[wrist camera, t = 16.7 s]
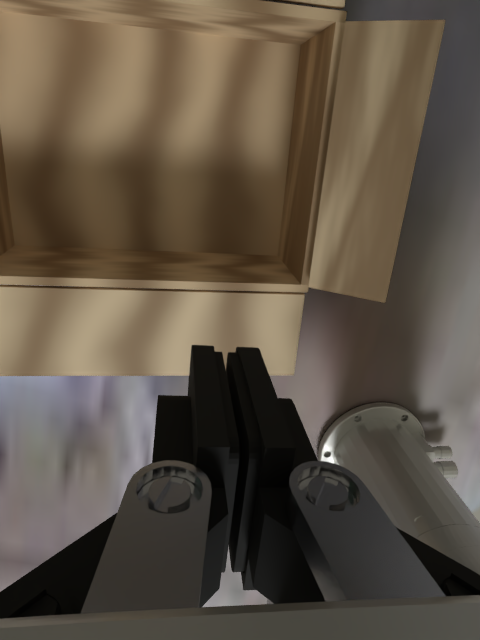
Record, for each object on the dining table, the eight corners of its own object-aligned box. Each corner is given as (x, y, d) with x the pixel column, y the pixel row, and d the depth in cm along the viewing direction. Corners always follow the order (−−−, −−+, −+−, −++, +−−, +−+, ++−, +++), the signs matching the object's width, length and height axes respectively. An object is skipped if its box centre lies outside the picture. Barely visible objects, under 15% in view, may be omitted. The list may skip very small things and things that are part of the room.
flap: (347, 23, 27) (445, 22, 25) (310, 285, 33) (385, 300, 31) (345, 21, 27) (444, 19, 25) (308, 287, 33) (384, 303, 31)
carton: (320, -78, 33) (369, -147, 24) (274, 330, 45) (296, 375, 37) (-38, -133, 29) (-122, -236, 21) (19, 326, 41) (-19, 375, 33)
